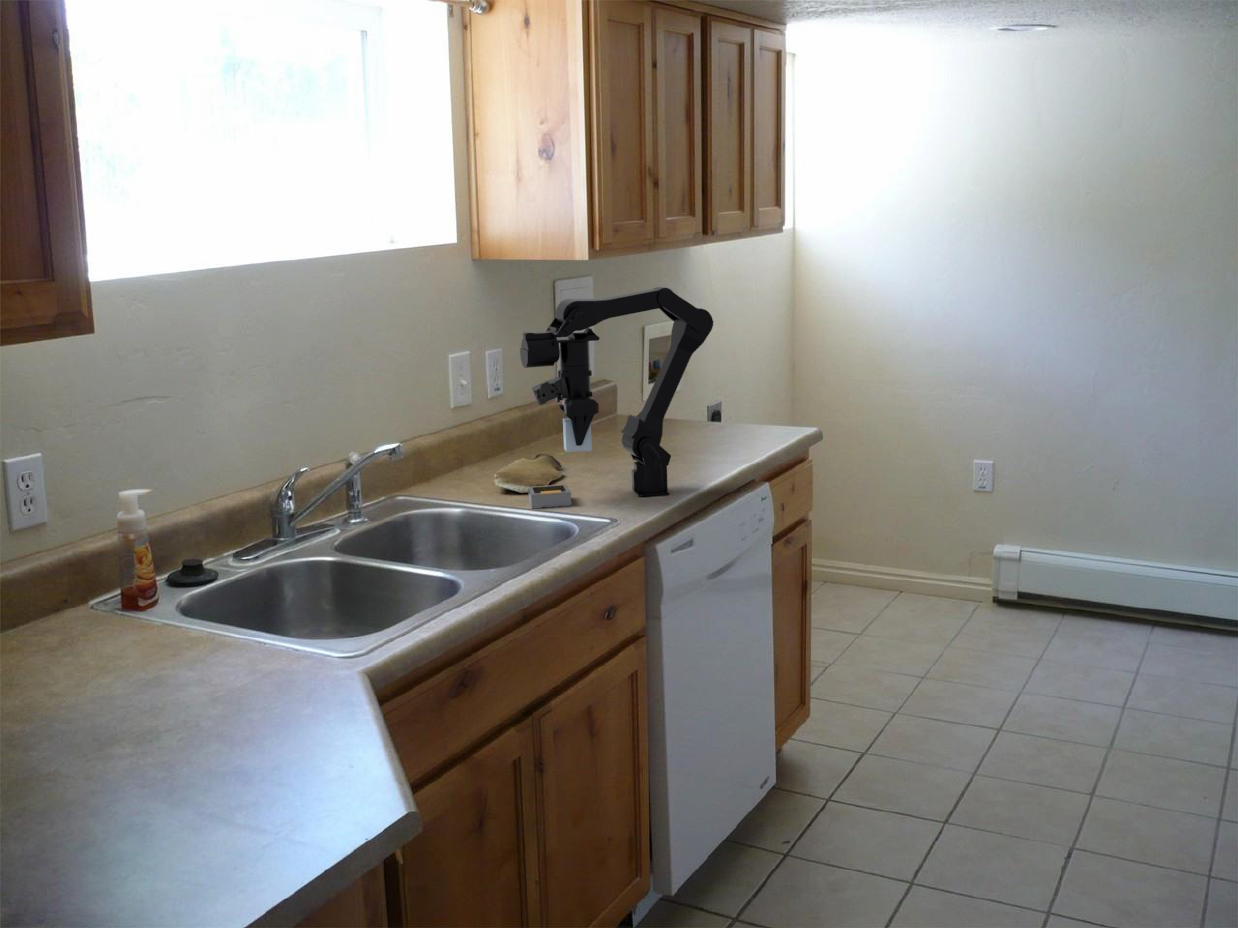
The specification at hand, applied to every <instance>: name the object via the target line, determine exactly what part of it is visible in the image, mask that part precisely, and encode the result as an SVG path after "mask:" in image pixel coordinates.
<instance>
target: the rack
mask: <svg viewBox="0 0 1238 928" xmlns="http://www.w3.org/2000/svg"><path fill="white" fill-rule="evenodd" d="M527 494H528V495H527V496H528V498H527V499H528V503H529V502H530V503H529V505H530V508H531V507H532V508H535V509H543V508H542V507H548V508H557V507H558V508H560V507H559V506H562V507H572V493H571V490H570V488H569V486H568V484H567V483H564V484H551V485H548V486H534V487H528V492H527ZM532 508H531V509H532Z"/></svg>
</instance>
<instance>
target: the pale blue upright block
mask: <svg viewBox="0 0 1238 928" xmlns="http://www.w3.org/2000/svg"><path fill="white" fill-rule="evenodd" d="M562 426H563V428H562V430H563V431H562V432H563V449H564V451H565V452H566V453H575V452H591V451H593V450H592V449H593V447H592V444H593V443H592V441H593V440H592V423H591V424H590V426H589V428H588V431H587V433H586V436H585V439H584V441H583V444H582V445H581V446H577V445H576V442H575V437H574V432H573V428H572V423H571V420H570V419H569V418H562Z"/></svg>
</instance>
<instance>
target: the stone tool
mask: <svg viewBox="0 0 1238 928" xmlns="http://www.w3.org/2000/svg"><path fill="white" fill-rule="evenodd" d="M562 467H563V465H562V464H561V462H559V461H558V459H556V458H555V457H554V456H553V455H551V454H547V453H539V454H537V455H535V456H534V458H533V459H532V460H531V459H527V458H525V457H523V458H521V459H517V460H515V461H514V462H510V463H509V464H508V465H505V466H504V467H502V468H501V469H500V470H497V471H496V472H495V473H494V483H495V486H496V487H498V488H503V489H506V490H509V491H513V492H517V493H521V494H525V493H527V494H528V487H534V486H548V485H549V484H550V483H551V482H553V481H557V480H560V479H561V478H562V476H563V474H564V472H563V471H560V469H562ZM559 478H560V479H559Z"/></svg>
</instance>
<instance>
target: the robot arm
mask: <svg viewBox="0 0 1238 928" xmlns="http://www.w3.org/2000/svg"><path fill="white" fill-rule="evenodd" d="M657 309H659V310H660V311H661V312H662V313H663V314H664V315H665V316H666V317H667V318H668V319H670V320H671V321H673V324H672V327H671V334H670V335H671V336H670V337H671V338H670V347H669V349H668V352H667V353H666V356H665V358H664V361H663V362H662V365H661V367H660V369H659V372H658V374H657V377H656V378H655V381H654V383H653V386H652V388H651V390H650V392H649V394H648V397H647V399H646V401H645V404H644V405H643V408H642V409H641V411H640V412H639V413H638V414H637V415H636V416H635V415H633V414H629V415H628V417H627V419H626V420H627V421H626V423H625V426H624V427H623V429H622V430H621V431H620V433H621V434H622V436H621V437H622V438H621V443H622V446H623V448H624V449H625V451H626V452H627V453H629V454H630V457H631V458H632V461H633V469H631V490H632V491H633V492H634V493H635V494H636V496H638V497H651V496H663V495H670V490H669V489H668V466H669V465H670V461H671V458H672V455H671V454H670V453H669V452H668V451H667V450H666V449H664V448H663V447H662V446H661V441H662V438H663V433H664V419H665V416H666V414H667V412H668V409H669V407H670V405H671V402H672V400H673V399H674V396H675V393H676V391H677V389H678V387H679V385H680V382H681V380H682V378H683V376H684V373H685V371H686V369H687V367H688V364H689V362H690V360H691V357H692V356H693V354H694V353H695V352H696V351H698V349H699V348H700V347H701V346H702V345H703V344H704V342H705V341H706V339H707V338H708V337H709V335H710V333H711V332H712V330H713V327H714V319H713V317H712V315H711V313H710V312H709V311H707V310H706V309H704V308H700V307H696V306H695V305H693V304H692V303H690V302H688V301H687V300H686V299H684V298H682V297H680V296H679V295H678V294H677V293H675V292H674V291H673V290H672V289H671V288H668V287H665V286H664V287H663V286H655V287H654V288H651V289H645V290H641V291H640V290H639V291H636V292H631V293H626V294H621V295H615V296H609V297H605V298H565V299H563V300H562V301H560V302H559V304H558V305H557V307H556V308H555V316H554V318H553V320H552V321H551V322H550V324H549V325H548V327H547V329H546V330H545V331H541V332H531V331H524V332H523V333H522V340H521V344H520V345H521V346H520V349H519V354H520V355H519V356H520V360H521V365H522V367H523V369H530V368H544V367H553V366H555V364H556V363H558V361H560V364H559V365H560V366H559V367H560V368H559V369H558V370H557V376H556V377H553V378H551V379H548V380H545V381H544V382H540V383H538V384H537V385H534V386H532V387H531V390H532V393H533V396H534V397H535V401H536V402H537V404H538V405H539V406H542V405H545V404H546V403H548V402H549V401H551V400H554V399H555V402H556V403H560V402H561V401H562V404H558V407H559V409H560V410H562V413H563V415H564V416H566V417H567V418H569V419H570V420H571V423H572V428H573V432H574V437H575V442H576V445H577V446H581V445H582V444H583V441H584V439H585V436H586V433H587V431H588V428H589V426H590V424H591V425H592V421H593V419H594V417H595V415H597V414H600V413H599V406H600V405H599V402H598V401H596V399H594V398H593V391H592V390H591V377H592V374H593V373H592V370H591V369H590V367H591V366H590V365H591V362H590V360H591V359H590V342H594V341H597V342H598V341H599V340H600V339H601V338H600V336H599V335H597V334H596V333H595V332H594V331H593V329H592V328H591V327H593V326H596V325H598V324H600V323H601V322H603V321H606V320H609V319H611V318H617V317H623V316H628V315H633V314H637V313H642V312H647V311H652V310H657ZM580 331H581V332H580ZM582 331H583V332H582Z"/></svg>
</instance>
